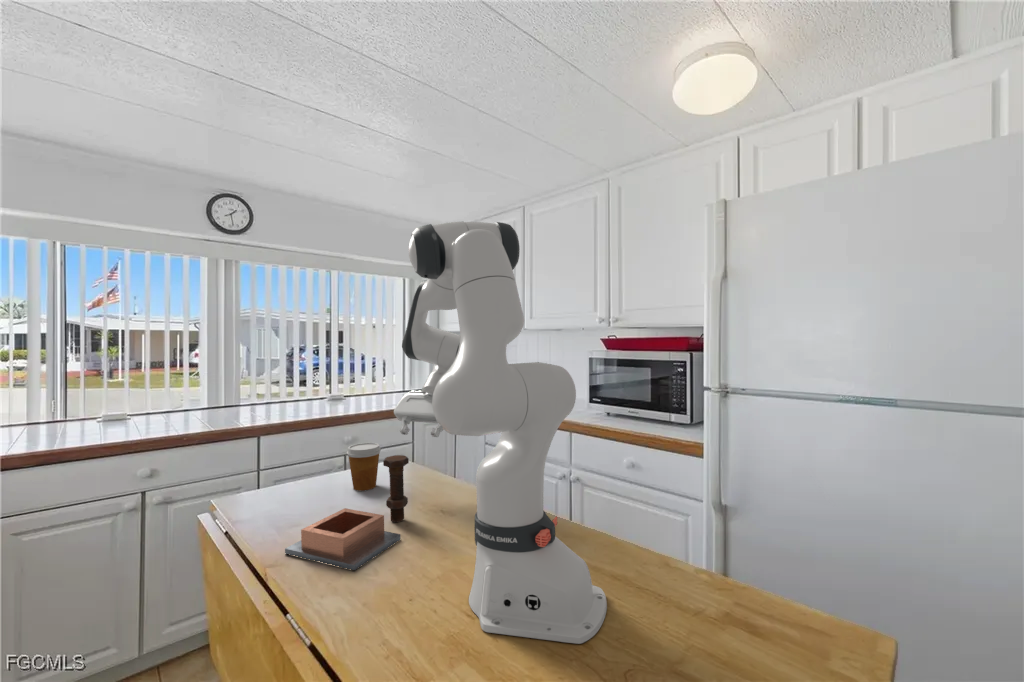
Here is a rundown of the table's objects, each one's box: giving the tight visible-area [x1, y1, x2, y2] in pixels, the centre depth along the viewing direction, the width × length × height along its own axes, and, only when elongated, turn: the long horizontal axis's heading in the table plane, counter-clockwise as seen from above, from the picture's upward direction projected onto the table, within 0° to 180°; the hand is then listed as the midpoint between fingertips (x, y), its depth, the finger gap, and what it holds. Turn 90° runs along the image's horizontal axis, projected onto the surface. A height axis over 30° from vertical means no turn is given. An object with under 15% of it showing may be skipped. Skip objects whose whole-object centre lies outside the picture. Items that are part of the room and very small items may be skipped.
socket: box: [284, 508, 402, 571], centre depth 95 cm, size 18×14×5 cm
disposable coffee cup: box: [346, 442, 382, 492], centre depth 132 cm, size 10×10×12 cm
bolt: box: [382, 454, 410, 523], centre depth 108 cm, size 6×5×15 cm
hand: (418, 434), depth 116 cm, fingers open, 8 cm apart
